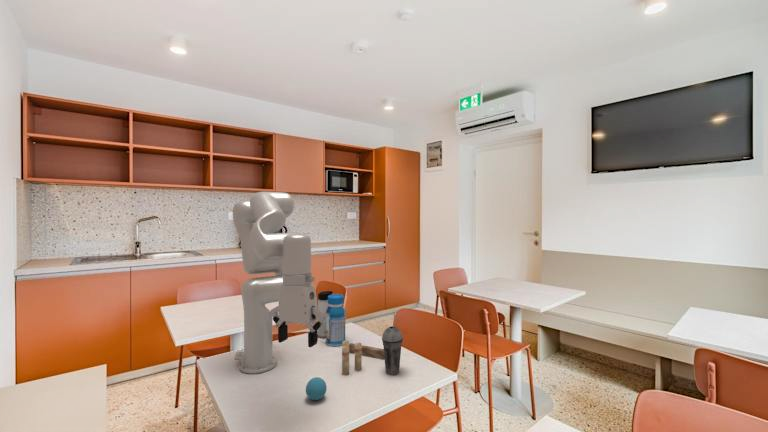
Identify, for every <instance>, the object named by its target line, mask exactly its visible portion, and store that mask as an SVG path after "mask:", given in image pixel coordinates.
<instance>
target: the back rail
mask: <svg viewBox="0 0 768 432" xmlns="http://www.w3.org/2000/svg"><path fill="white" fill-rule="evenodd" d="M349 354H354V355H355V343H351V342H349ZM362 356H364V357H367V358H374V359H380V360H384V361H385V358H384V348H379V347H373V346H368V345H362Z"/></svg>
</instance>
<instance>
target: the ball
mask: <svg viewBox="0 0 768 432" xmlns="http://www.w3.org/2000/svg"><path fill="white" fill-rule="evenodd" d="M327 387H328V386H327V383H326V381H325V379H323V378H322V377H313V378H311V379H310V380H309V381H308V382H307V383H306V386H305V394H306V395H307V397H308V399H309V400H313V401H320V400H321V399H323V397H324V396H325V394H326V392H327Z"/></svg>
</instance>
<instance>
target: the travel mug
mask: <svg viewBox="0 0 768 432" xmlns="http://www.w3.org/2000/svg"><path fill="white" fill-rule="evenodd" d="M332 294H334V293H333V291H332V290H326V291H325V290H323V291H320V292H319V293H317V307H318V310H320V311H321V312H323V313H324V314H325V315H326V316H327V314H326V310H327V308H328V306H329V304H328V296H329V295H332ZM318 338H320V339H326V318H325V320H324V322H323V325H322V326H321V327H320V328H319V329H318Z"/></svg>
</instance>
